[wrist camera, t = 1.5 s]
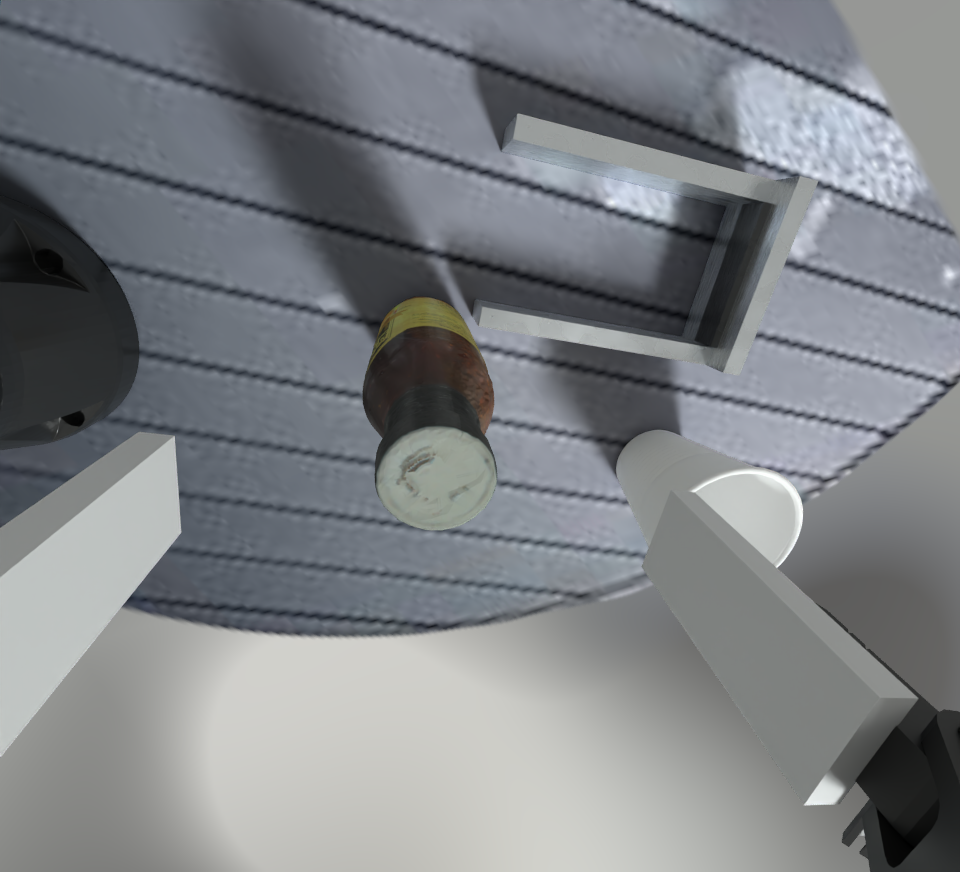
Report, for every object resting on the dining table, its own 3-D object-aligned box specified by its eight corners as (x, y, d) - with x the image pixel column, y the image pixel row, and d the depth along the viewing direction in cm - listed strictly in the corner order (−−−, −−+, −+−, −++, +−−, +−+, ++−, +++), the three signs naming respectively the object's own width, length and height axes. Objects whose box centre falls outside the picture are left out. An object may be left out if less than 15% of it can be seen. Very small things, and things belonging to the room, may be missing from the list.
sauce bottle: (372, 298, 31) (309, 381, 13) (464, 289, 32) (525, 357, 14) (388, 390, 34) (353, 566, 16) (472, 381, 34) (532, 540, 16)
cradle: (472, 316, 32) (482, 332, 27) (505, 129, 28) (525, 103, 23) (690, 354, 36) (739, 375, 30) (748, 191, 31) (818, 181, 26)
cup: (648, 529, 42) (721, 621, 32) (568, 476, 39) (621, 560, 29) (728, 446, 39) (834, 517, 29) (649, 382, 36) (738, 438, 26)
